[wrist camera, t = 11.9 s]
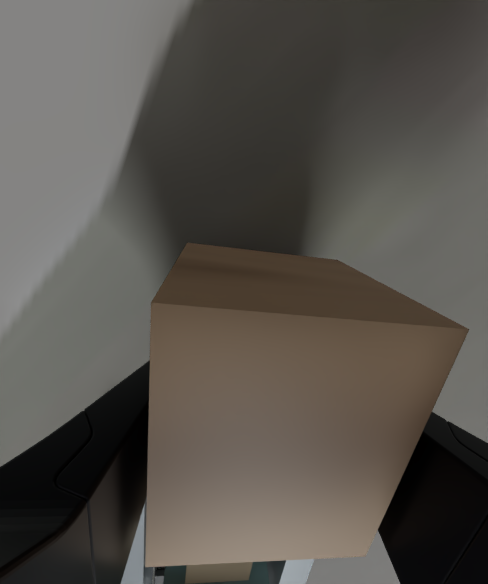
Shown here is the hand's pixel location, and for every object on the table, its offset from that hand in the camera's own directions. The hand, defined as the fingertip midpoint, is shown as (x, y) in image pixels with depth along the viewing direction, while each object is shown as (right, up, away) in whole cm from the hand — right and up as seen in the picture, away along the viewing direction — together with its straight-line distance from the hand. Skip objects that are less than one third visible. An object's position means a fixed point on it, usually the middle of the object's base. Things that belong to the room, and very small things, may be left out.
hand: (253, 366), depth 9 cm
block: (0, +1, +1) cm, 1 cm away
